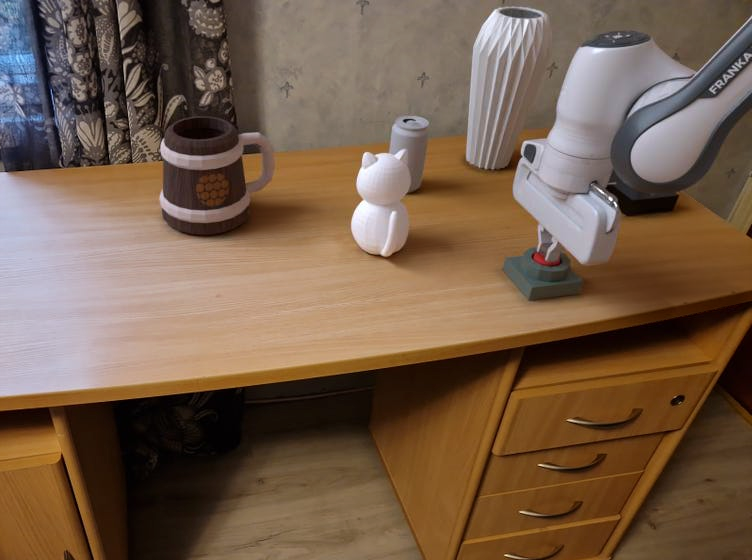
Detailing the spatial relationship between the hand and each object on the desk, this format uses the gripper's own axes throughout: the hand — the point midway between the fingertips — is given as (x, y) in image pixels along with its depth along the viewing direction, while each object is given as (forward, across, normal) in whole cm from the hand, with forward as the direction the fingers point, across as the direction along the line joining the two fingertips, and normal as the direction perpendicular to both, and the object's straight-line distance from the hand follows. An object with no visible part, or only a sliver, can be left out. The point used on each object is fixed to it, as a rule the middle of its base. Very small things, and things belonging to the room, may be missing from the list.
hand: (546, 257), depth 97 cm
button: (+2, 0, 0) cm, 2 cm away
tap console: (+4, +21, -29) cm, 36 cm away
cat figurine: (+4, +14, +20) cm, 25 cm away
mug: (+5, +30, +43) cm, 53 cm away
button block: (+4, 0, 0) cm, 4 cm away
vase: (+4, +40, -11) cm, 42 cm away
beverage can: (+4, +33, +9) cm, 34 cm away
